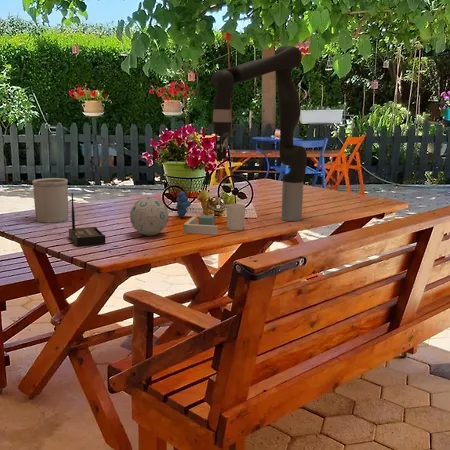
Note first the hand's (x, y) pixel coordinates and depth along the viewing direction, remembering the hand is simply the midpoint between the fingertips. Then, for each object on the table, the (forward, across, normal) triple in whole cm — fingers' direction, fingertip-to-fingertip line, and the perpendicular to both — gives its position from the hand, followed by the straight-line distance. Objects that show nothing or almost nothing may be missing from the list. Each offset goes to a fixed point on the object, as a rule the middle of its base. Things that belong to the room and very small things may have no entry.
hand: (221, 160), depth 257 cm
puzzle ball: (+28, -23, +24) cm, 44 cm away
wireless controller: (+29, -37, +45) cm, 65 cm away
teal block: (+28, -9, +4) cm, 30 cm away
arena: (+28, -8, +5) cm, 30 cm away
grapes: (+28, +14, +20) cm, 37 cm away
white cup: (+28, -3, -7) cm, 29 cm away
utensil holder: (+28, -7, +74) cm, 80 cm away
